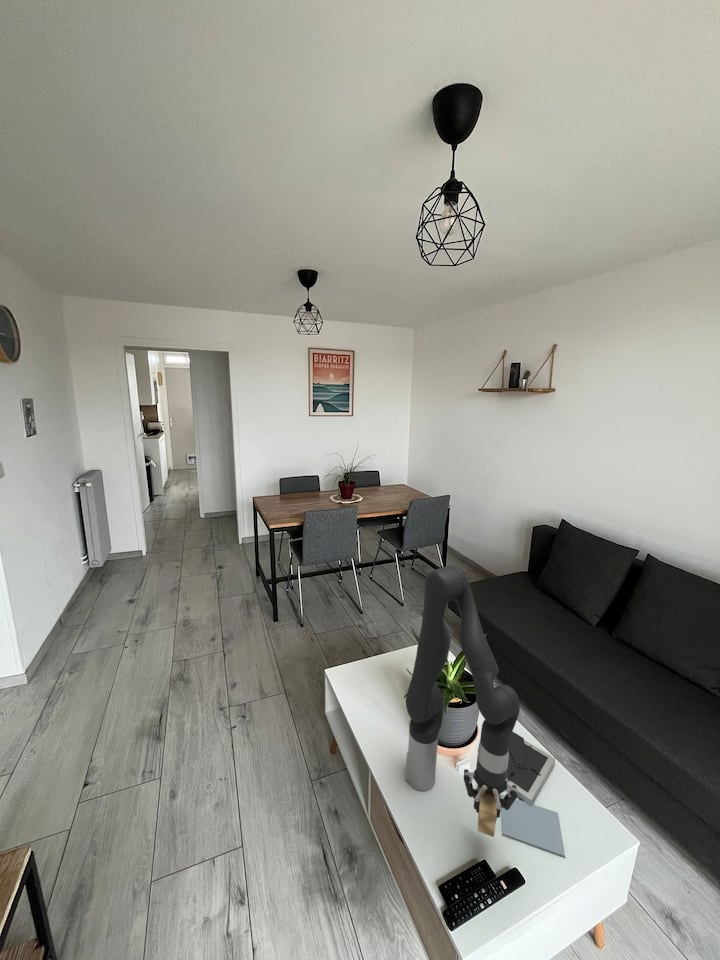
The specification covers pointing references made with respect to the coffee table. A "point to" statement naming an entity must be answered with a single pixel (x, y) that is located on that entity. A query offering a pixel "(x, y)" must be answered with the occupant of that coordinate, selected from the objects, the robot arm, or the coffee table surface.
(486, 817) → the oak card box
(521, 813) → the slate mat
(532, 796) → the picture frame
